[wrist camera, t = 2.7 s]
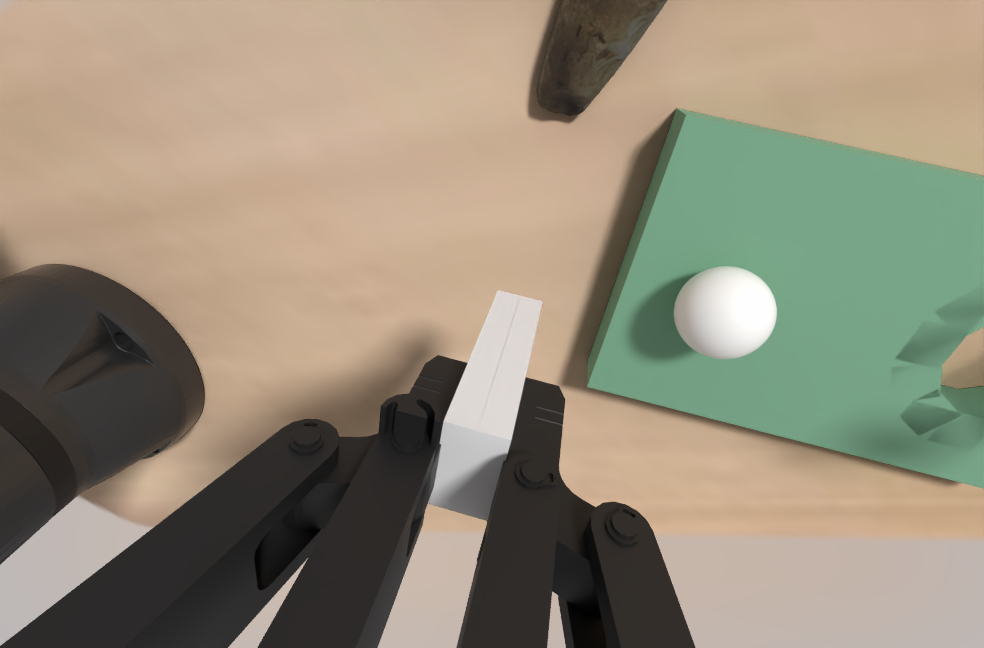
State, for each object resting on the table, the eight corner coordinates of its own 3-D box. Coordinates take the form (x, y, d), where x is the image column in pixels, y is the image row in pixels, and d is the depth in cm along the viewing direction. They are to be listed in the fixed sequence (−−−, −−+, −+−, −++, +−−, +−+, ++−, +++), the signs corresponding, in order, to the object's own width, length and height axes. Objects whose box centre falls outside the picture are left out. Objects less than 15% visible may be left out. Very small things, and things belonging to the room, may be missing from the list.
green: (587, 361, 29) (584, 667, 15) (676, 108, 21) (843, 226, 7) (996, 465, 27) (1431, 912, 13) (1238, 232, 20) (2772, 670, 6)
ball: (655, 318, 24) (666, 363, 20) (687, 243, 22) (705, 279, 18) (737, 338, 24) (761, 388, 20) (776, 264, 22) (812, 305, 18)
